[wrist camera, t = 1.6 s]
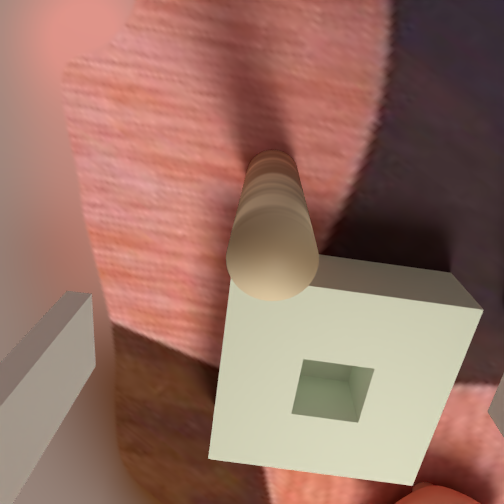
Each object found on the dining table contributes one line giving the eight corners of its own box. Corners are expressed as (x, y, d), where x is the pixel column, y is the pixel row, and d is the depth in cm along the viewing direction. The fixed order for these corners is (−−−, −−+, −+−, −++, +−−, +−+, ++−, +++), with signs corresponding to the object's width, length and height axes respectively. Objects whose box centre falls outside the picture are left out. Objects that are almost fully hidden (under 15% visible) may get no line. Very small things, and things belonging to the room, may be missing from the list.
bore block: (237, 243, 35) (231, 275, 30) (450, 272, 36) (483, 309, 30) (216, 408, 42) (208, 458, 37) (394, 432, 43) (412, 485, 37)
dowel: (250, 146, 32) (231, 210, 18) (302, 153, 32) (327, 223, 18) (243, 196, 34) (221, 294, 19) (293, 203, 34) (309, 306, 19)
